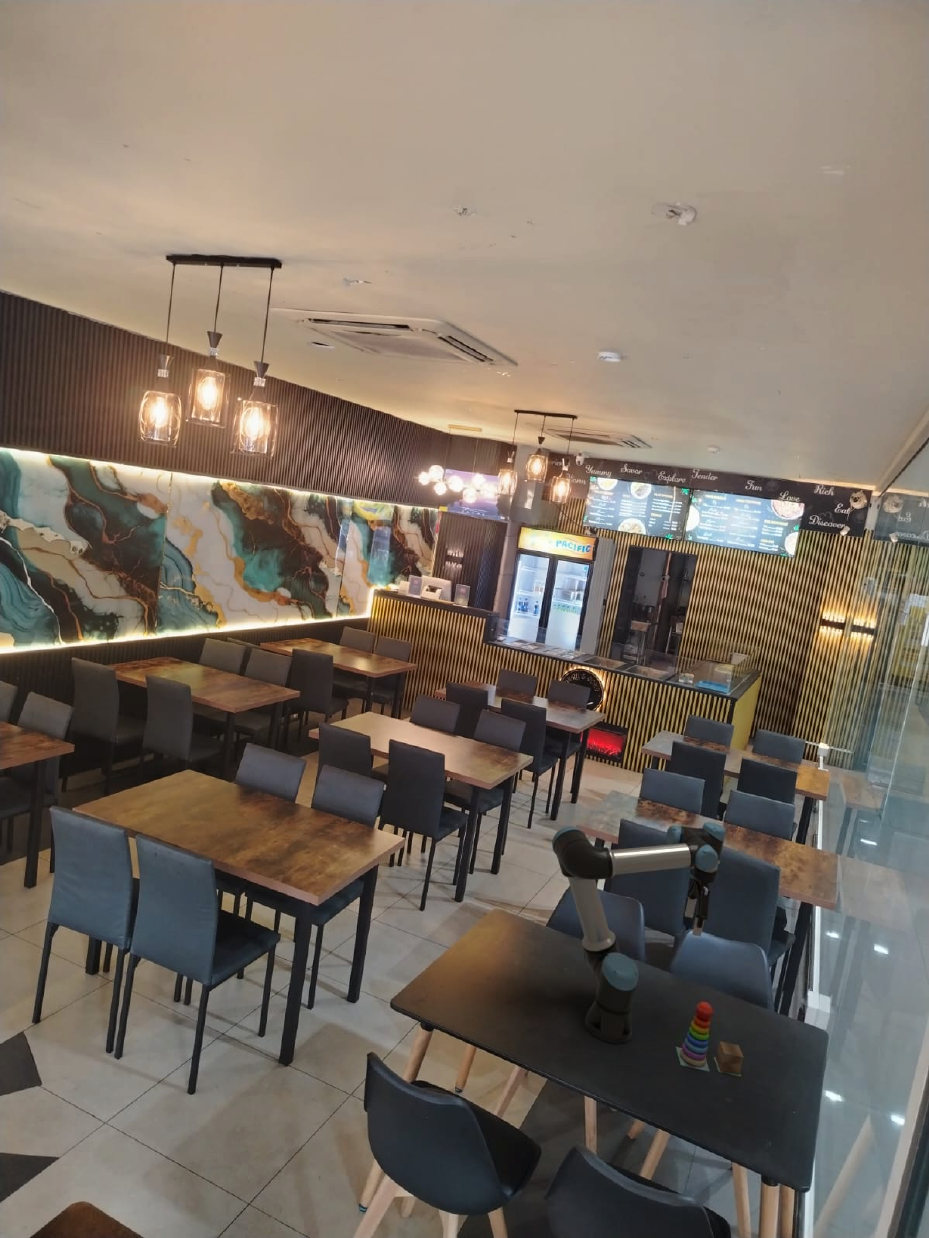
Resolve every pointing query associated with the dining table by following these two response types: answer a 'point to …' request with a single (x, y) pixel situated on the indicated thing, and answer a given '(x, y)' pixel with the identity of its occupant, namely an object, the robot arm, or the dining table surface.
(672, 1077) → the dining table surface
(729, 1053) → the walnut cube
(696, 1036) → the stacking toy
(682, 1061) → the paired pale square pads
